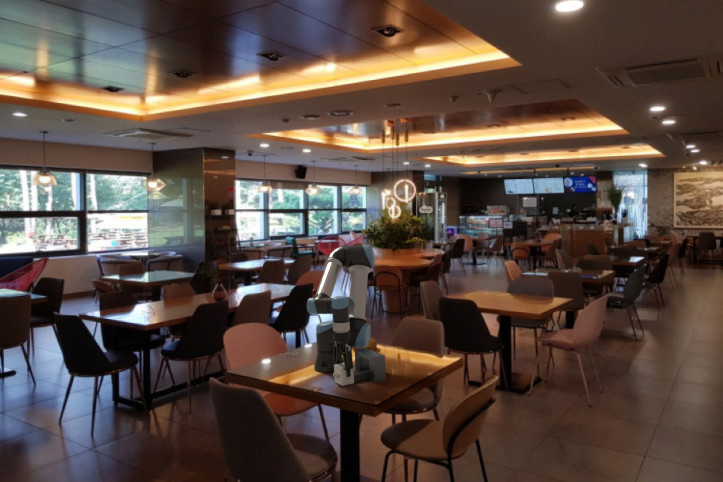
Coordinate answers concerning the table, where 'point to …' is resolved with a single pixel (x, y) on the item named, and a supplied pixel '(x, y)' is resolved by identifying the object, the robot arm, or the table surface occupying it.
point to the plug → (354, 375)
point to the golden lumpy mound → (369, 345)
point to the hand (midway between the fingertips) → (343, 381)
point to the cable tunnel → (371, 364)
